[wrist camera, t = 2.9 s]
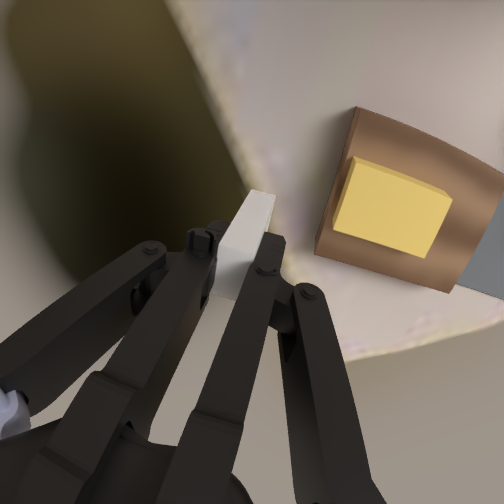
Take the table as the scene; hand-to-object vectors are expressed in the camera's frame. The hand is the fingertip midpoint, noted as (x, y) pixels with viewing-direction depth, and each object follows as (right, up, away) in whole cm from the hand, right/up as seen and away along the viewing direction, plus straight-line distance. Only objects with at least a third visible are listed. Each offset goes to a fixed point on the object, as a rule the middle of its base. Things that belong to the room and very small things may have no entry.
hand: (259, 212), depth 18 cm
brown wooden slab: (+15, +3, +8) cm, 17 cm away
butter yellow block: (+11, +2, +6) cm, 13 cm away
